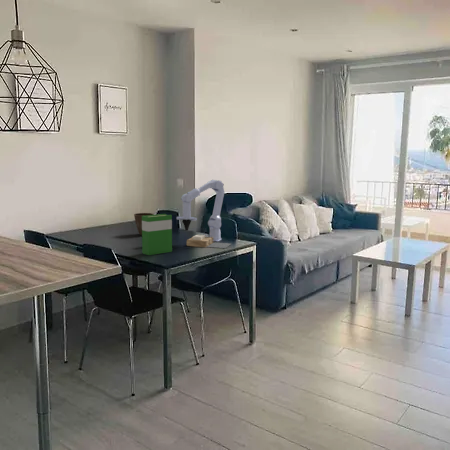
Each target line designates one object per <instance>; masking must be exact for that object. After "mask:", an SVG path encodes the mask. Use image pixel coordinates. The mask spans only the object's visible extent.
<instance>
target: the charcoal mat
mask: <svg viewBox="0 0 450 450" xmlns="http://www.w3.org/2000/svg"><path fill="white" fill-rule="evenodd" d="M231 245H232V243H226V242H213V243H212V244H210V245H209V246H207V247H206V248H211V249H213V248H214V249H224V250H225V249H227V248H228V247H229V246H231Z"/></svg>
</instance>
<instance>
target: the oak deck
mask: <svg viewBox="0 0 450 450" xmlns="http://www.w3.org/2000/svg"><path fill="white" fill-rule="evenodd" d="M212 243H214V241H213V237H210V236H205V238H204V239H202V240H193V236H192V237H191V238H188V239H186V246H187V247H196V248H208V247H207V246H209V245H210V244H212Z"/></svg>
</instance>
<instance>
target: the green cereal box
mask: <svg viewBox="0 0 450 450" xmlns="http://www.w3.org/2000/svg"><path fill="white" fill-rule="evenodd" d="M172 218H173V216H172V214H166V213H160V214H159V213H158V214H154V215H146V216H142V235H141V244H142V245H141V247H142V248H141V251H142V252H141V253H142V254H143V255H147V256H152V255H153V256H154V255H157V254H158V255H159V254H166V253H172V252H173V219H172Z"/></svg>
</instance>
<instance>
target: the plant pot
mask: <svg viewBox="0 0 450 450" xmlns="http://www.w3.org/2000/svg"><path fill="white" fill-rule="evenodd" d="M146 215H155V214H154V213H152V212H151V213H150V212H138V213H134V214H133V216H134V221H135V225H136V229H137V232H138V234H139V236H142V216H146Z"/></svg>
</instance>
